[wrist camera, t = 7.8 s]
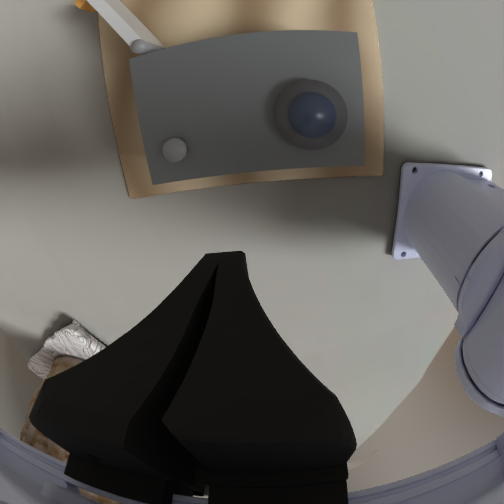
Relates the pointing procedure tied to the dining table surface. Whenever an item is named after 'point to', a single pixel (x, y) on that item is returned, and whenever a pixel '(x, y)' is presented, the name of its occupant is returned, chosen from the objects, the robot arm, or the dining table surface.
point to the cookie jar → (52, 363)
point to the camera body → (251, 104)
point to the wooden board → (231, 23)
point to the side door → (124, 24)
